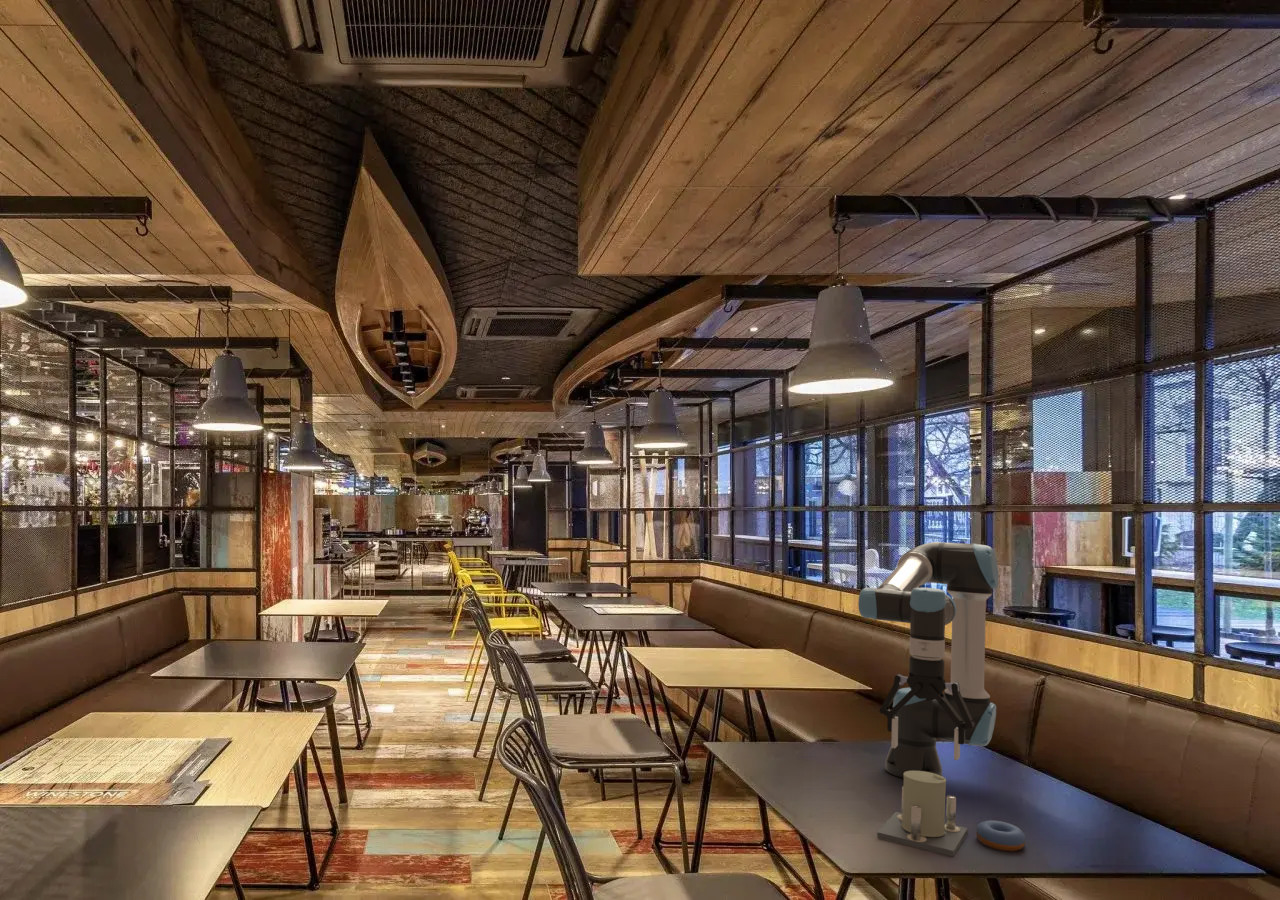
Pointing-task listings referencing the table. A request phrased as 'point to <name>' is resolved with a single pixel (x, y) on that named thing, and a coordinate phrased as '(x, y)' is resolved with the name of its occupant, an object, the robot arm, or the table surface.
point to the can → (925, 801)
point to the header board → (923, 837)
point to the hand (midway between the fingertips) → (925, 752)
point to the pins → (917, 817)
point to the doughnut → (1000, 835)
